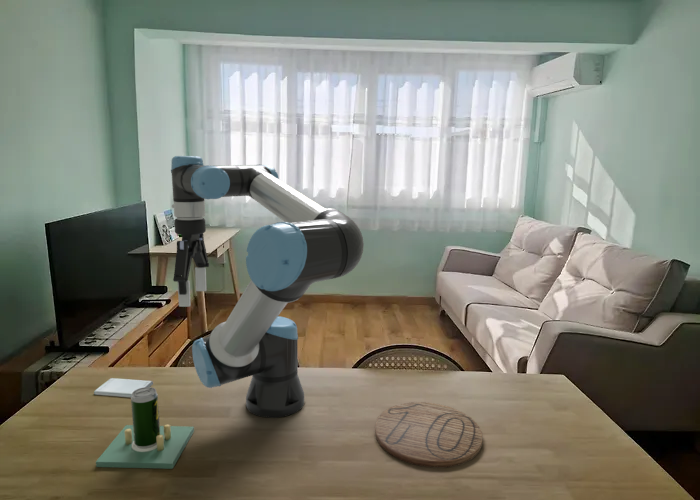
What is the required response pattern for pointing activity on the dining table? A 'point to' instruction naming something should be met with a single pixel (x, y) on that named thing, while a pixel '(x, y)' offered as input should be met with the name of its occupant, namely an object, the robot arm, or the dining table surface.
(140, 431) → the beer can
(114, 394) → the hard drive
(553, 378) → the dining table surface
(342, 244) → the robot arm
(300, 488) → the dining table surface
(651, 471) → the dining table surface
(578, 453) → the dining table surface
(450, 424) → the trivet
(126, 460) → the board
